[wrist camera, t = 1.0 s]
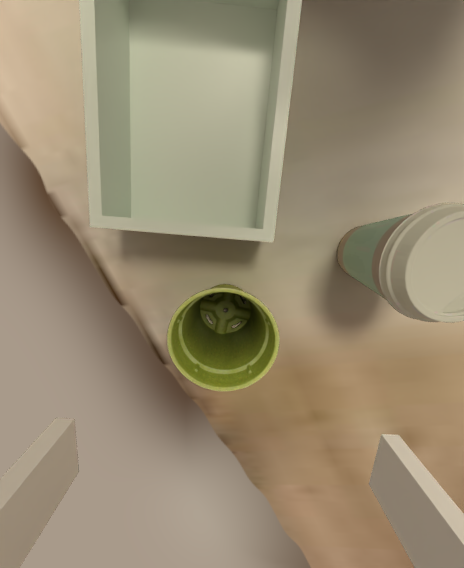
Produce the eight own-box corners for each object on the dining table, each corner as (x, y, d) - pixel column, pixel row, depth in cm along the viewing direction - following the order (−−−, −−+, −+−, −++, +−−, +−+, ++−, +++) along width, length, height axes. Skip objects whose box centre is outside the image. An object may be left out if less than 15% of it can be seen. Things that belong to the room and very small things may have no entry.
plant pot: (215, 359, 30) (210, 410, 22) (169, 299, 28) (143, 329, 20) (279, 318, 29) (300, 355, 21) (235, 253, 27) (237, 265, 19)
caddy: (122, -12, 22) (73, -122, 15) (287, 7, 22) (313, -91, 15) (125, 227, 26) (89, 227, 20) (262, 238, 27) (273, 242, 20)
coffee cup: (329, 294, 28) (399, 340, 17) (321, 220, 27) (393, 214, 15) (401, 280, 28) (525, 317, 16) (399, 205, 26) (535, 186, 15)
